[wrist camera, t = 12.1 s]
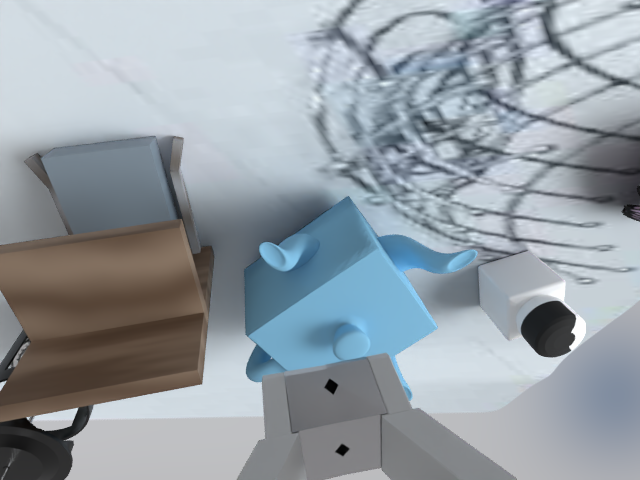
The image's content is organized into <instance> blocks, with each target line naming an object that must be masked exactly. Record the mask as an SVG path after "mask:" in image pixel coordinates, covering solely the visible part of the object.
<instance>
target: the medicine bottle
mask: <svg viewBox="0 0 640 480" xmlns="http://www.w3.org/2000/svg"><path fill="white" fill-rule="evenodd" d="M478 274H479V296H480V307H481V308H482V309H483V310H484V312H485V313H486V314H487V315H488V317H489V318H490V319H491V320H492V322H493V323H494V324H495V325H496V327H497V328H498V329H499V330H500V332H501V333H502V334H503V335H504V337H505V338H506V339H507V340H509V341H510V340H514V339H517V338H520V337H524V339H525V340H526V341H527V342H528V343H529V344H530V346H531V347H532V348H533V349H534V350H535V351H536V353H538V354H539V355H541V356H544V357H558V356H561V355H564V354H566V353H568V352H570V351H571V350H573V349H574V348H575V347H576V346H577V345H578V344H579V343H580V342H581V341H582V339H583V337H584V335H585V332H586V324H585V321H584V320H583V319H582V318H581V317H580V316H579V315H578V314H577V313H576V312H575V311H574V310H572V309H571V308H570V307H569V306H568V305H567V304H566V303H565V302H564V294H565V283H566V282H565V280H564V279H563V278H561V277H560V276H559V275H558V274H557V273H555V272H554V271H553V270H552V269H551V268H550V267H548V266H547V265H546V264H545V263H544V262H542V261H541V260H540V259H539V258H538V257H536V256H535V255H534V254H533V253H532V252H530V251H526V252H522V253H519V254H516V255H513V256H509V257H506V258H503V259H500V260H496V261H493V262H490V263H486V264H483V265H480V266H479V267H478Z"/></svg>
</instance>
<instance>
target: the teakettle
mask: <svg viewBox="0 0 640 480" xmlns="http://www.w3.org/2000/svg"><path fill="white" fill-rule="evenodd" d="M259 252H260V255H261V256H262V257H261V258H260V259H258V260H257V261H255V262H254V263H253V264H251V265H250V266H248V267H247V268H246V269H244V281H245V327H246V335H247V337H249V338H250V339H251V340H252V341H253V342H255V343H256V344H257V345H256V347H255V348H254V350H253V352H252V354H251V356H250V358H249V361H248V363H247V367H246V374H247V377H248V378H249V379H250V380H252V381H254V382H262V377H263V375H269V374H275V373H281V372H285V371H291V370H298V369H304V368H310V367H316V366H322V365H325V364H330V363H335V362H340V361H345V360H350V359H355V358H360V357H366V356H372V355H377V354H382V353H387V354H388V355H389V356H390V358H391V360H392V363H393V365H394V367H395V370H396V372H397V374H398V376H399V379H400V381H401V383H402V386H403V388H404V390H405V393H406V395H407V397H408V399H409V401H410V400H411V399H412V392H411V390H410V388H409V386H408V385H407V383H406V382H405V380H404V378H403V376H402V374H401V372H400V370H399V367H398V365H397V362H396V358H395V355H396V354H398V353H400V352H401V351H403V350H404V349H406V348H408V347H409V346H411V345H412V344H414V343H416V342H417V341H419V340H420V339H422V338H424V337H425V336H427V335H428V334H430V333H431V332H433V331H434V330H436V329H437V328H438V326H437V325H436V323H435V322H434V320H433V318H432V317H431V315H430V314H429V312H428V310H427V309H426V307H425V306H424V304H423V302H422V301H421V299H420V298H419V296H418V294H417V293H416V291H415V289H414V288H413V286H412V285H411V283H410V281H409V280H408V278H407V277H406V275H405V273H404V272H403V271H406V270H408V269H412V268H422V269H424V270H427V271H429V272H432V273H438V274H444V273H451V272H455V271H457V270H460V269H461V268H463V267H465V266H467V265H468V264H470V263H471V262H472V261H473V260H474V259H475V258H476V256H477V251H476V250H465V251H461V252H457V253H452V254H444V253H439V252H435V251H433V250H431V249H429V248H427V247H425V246H424V245H422V244H420V243H419V242H417V241H415V240H413V239H411V238H409V237H406V236H403V235H385V236H381V237H378V236H377V234H376V233H375V232H374V230H373V229H372V227H371V226H370V225H369V223H368V222H367V221H366V219H365V218H364V216H363V215H362V214H361V212H360V211H359V210H358V208H357V207H356V206H355V204H354V203H353V201H352V200H351V199H350V197H349V196H348V197H346V198H345V199H343V200H342V201H340V202H339V203H338V204H336V205H335V206H333V207H332V208H330V209H329V210H328V211H325V212H324V213H323V214H321V215H320V216H319V217H318V218H316V219H315V220H313V221H312V222H310V223H309V224H308V225H306V226H305V227H303V228H302V229H301V230H299V231H298V232H296V233H295V234H293V235H292V236H290V237H288V238H286V239H285V240H284V241H282V242H281V243H280V244H279V245H278V246H277V245H275V244H273V243H270V242H263V243H261V244H260V245H259ZM271 357H272V358H273V359H271ZM270 359H271V360H270Z"/></svg>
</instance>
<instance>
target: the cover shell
mask: <svg viewBox="0 0 640 480" xmlns="http://www.w3.org/2000/svg"><path fill="white" fill-rule="evenodd" d="M41 160H42V163H43V165H44V167H45V170H46V172H47V174H48V177H49V179H50V181H51V183H52V186H53V188H54V190H55V193H56V195H57V197H58V200H59V202H60V204H61V207H62V209H63V211H64V214H65V216H66V218H67V220H68V223H69V225H70V227H71V230H72V232H73V234H81V233H88V232H95V231H102V230H109V229H115V228H122V227H129V226H136V225H143V224H150V223H157V222H163V221H170V220H177V219H178V215H177V211H176V208H175V204H174V201H173V197H172V194H171V190H170V186H169V183H168V179H167V176H166V172H165V168H164V165H163V161H162V158H161V154H160V151H159V147H158V143H157V140H156V136H152V137H144V138H135V139H127V140H119V141H110V142H102V143H94V144H85V145H77V146H69V147H60V148H54V149H53V150H51V151H50V152H49V153H47V154H46V155H45V156H43V157H42V158H41Z"/></svg>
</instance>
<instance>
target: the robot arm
mask: <svg viewBox="0 0 640 480" xmlns="http://www.w3.org/2000/svg"><path fill="white" fill-rule="evenodd" d="M262 391H263V408H264V423H265V439H263V440H259V441H258V443H257V445H256V446H255V448H254V450H253V452H252V453H251V455H250V457H249V459H248V460H247V462H246V464H245V466H244V467H243V469H242V471H241V473H240V475H239V476H238V478H237V480H325V479H329V478H333V477H337V476H341V475H344V474H345V475H346V474H351V473H356V472H362V471H367V470H372V469H377V468H382V471H383V472H384V473H385V474H386V475H387V476H388V477H389V478H390V479H391V480H517V479H516V477H514V476H513V475H511V474H510V473H509V472H507V471H506V470H504V469H503V468H502V467H500V466H499V465H498V464H496V463H495V462H493V461H492V460H490V459H489V458H488V457H486V456H485V455H484V454H482V453H481V452H479V451H478V450H477V449H475V448H474V447H473V446H471V445H470V444H468V443H467V442H466V441H464V440H463V439H461V438H460V437H459V436H457V435H456V434H454V433H453V432H452V431H450V430H449V429H447V428H446V427H445V426H443V425H442V424H441V423H439V422H438V421H436V420H435V419H433V418H432V417H431V416H429V415H428V414H427V413H425V412H424V411H423V410H421V409H420V408H415V409H412V406H411V404H410V402H409V399H408V397H407V395H406V393H405V390H404V388H403V386H402V383H401V381H400V379H399V376H398V374H397V372H396V370H395V367H394V365H393V363H392V360H391V358H390V356H389V355H388V354H387V353H382V354H377V355H372V356H366V357H360V358H355V359H350V360H345V361H340V362H335V363H330V364H325V365H322V366H316V367H310V368H304V369H298V370H291V371H285V374H284V372H281V373H275V374H269V375H263V377H262Z"/></svg>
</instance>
